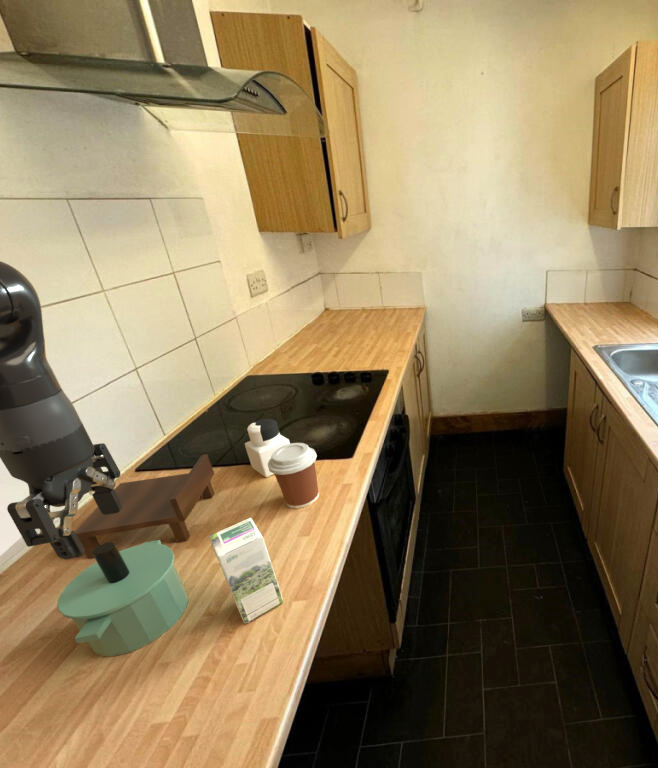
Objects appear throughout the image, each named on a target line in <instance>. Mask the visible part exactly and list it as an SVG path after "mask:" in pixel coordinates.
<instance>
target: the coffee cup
mask: <svg viewBox="0 0 658 768" xmlns="http://www.w3.org/2000/svg"><path fill="white" fill-rule="evenodd" d="M317 457H318V455H317V452H316V450H315V449H314V448H312V447H309V445H308V444H307V443H304V442H293V443H292V442H290V444H288V445H284V446H282V447H280V448H278V449H277V450H276V451H274V452H273V454H272V456H271V459H270V460H269V462H268V464H267V465H268V468H269V471H270V472H272V473H274V474H273V475H274V476H275V479H276V481H277V483H278V486H279V488H280V491H281V494H282V496H283V498H284V500H285V503H286V506H287V507H288V508H290V509H302V508H305V507H308V506H310V505H311V504H313V503H315V502H316V501H317V500H318V499H319V497H320V492H319V485H318V479H317V471H316V464H315V462H316V460H317Z"/></svg>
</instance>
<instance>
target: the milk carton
mask: <svg viewBox="0 0 658 768" xmlns="http://www.w3.org/2000/svg"><path fill="white" fill-rule="evenodd" d="M208 537H209V541H210V544H211V546H212V548H213V550H214V553H215V556H216V558H217V561H218V563H219V566H220V567H221V568H220V569H221V571H222V573H223V576H224V579H225V581H226V584H227V586H228V588H229V591H230V593H231V596H232V598H233V601H234V604H235V605H236V608H237V609H238V613H239V615H240V617H241V619H242V621H243V624H244V625H248V624H249V623H251V622H253V621H254V620H257V619H258V618H260V617H261V616H263V615H265V614H266V613H268V612H270V611H271V610H273V609H276V608H277V607H278V606H280V605H282V604H283V603H284V597H283V595H282V591H281V589H280V585H279V582H278V580H277V577H276V574H275V573H276V572H275V571H274V567H273V564H272V561H271V557H270V554H269V551H268V548H267V546H266V542H265V539H264V536H263V535H262V533H261V532H260V530H259V528H258V527H257V525H256V524H255V522H254V520H253V518H252V517H248V518H246V519H244V520H241V521H240V522H237V523H235V524H233V525H231V526H228V527H226V528H224V529H221V530H219V531H217V532H215V533H212V534H211V535H208Z"/></svg>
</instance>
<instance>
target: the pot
mask: <svg viewBox="0 0 658 768" xmlns="http://www.w3.org/2000/svg"><path fill="white" fill-rule="evenodd" d="M152 543H155V544H163V543H162V541H161V539H156V540H149V541H145V542H142V543H141V545H143V544H152ZM188 603H189V595H188V592H187V589H186V587H185V584H184V583H183V581H182V579H181V576H180V574H179V572H178V570H177V568H176V566H175V563H174V564H173V566H172V568H171V570H170V572H169V573H168V575H167V576H166V577H165V578H164V579H163V580H162V581H161V582H160V583H159V584H158V585H157V586H156V587H155V588H154V589H152V590H151V591H150V592H148V593H147V594H146V595H144V596H143V597H141V598H140V599H138V600H136V601H135V602H133V603H131V604H129V605H127V606H125V607H123V608H121V609H119V610H116V611H114V612H111V613H109V614H106V615H103V616H99V617H95V618H90V619H81V620H77V619H71V620H72V621H73V623H74V624H75V626H76V628H77V629H78V633H77V634H76V636H75V637H74V640H75V642H76V643H77V644H82V643H87V644H88V646H89V647H90V648H91V649H92V651H93V652H94V653H95V654H96V655H98V656H102V657H117V656H122V655H126V654H129V653H131V652H135V651H137V650H139V649H141V648H144V647H145V646H147V645H149V644H151V643H152V642H154V641H156V640H157V639H159V638H160V637H161V636H163V635H164V634H166V633H167V632H168V631H169V630H170V629H171V628H172V627H173V626H174V625H175V624H176V623H177V622H178V621H179V619H181V617H182V615H183V614H184V612H185V611H186V610H187V609H186V608H187V606H188Z"/></svg>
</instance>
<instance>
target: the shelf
mask: <svg viewBox="0 0 658 768" xmlns="http://www.w3.org/2000/svg"><path fill="white" fill-rule="evenodd" d="M214 476H215V471H214V468H213V466H212V463H211V460H210V457H209V455H208V453H205V454H202V455H201V456H200V457H199V458H198V460H197V461H196V463H195V464H194V465H193V467H192V468H191V470H190V471H189V472H188V473H181V474H180V473H179V474H174V475H168V476H160V477H154V478H146V479H140V480H134V481H126V482H120V483H119V484H118V485H117V486H115V488H114V490H115V492H116V494H117V496H118V498H119V500H120V504H121V506H122V509H121V510H120V511H119V512H118V513H113V514H107V515H104V514H102V513H101V511H100V509H99V507H98V506H97V507H96V508H95V509H94V510H93V512H91V513H90V514H89V516H88V517H86V518H85V520H84V521H83V522H82V523H81V524H80V525H79V526H78V527H77V528H76V529H75V530H74V531H75V533H76V535H77V537H78V538H79V540H80V542H81V544H82V545H83V547H84V549H85V552H84V553H85V556H86V558H87V559H88V560H89V559H90V560H91V559H95V558H94V556H93V555H92V551H93V550H94V549H95V548H96V547H98V546H99V545H101V543H100V542H99V540H98V538H97V537H99V536H104V535H110V534H115V533H121V532H128V531H133V530H139V529H140V530H141V529H146V528H151V527H157V526H163V525H168V526H169V528H170V530H171V532H172V535H173V537H174V539H175V541H176V543H177V544H178V543H183V542H187V541H188V540H189V538H190V537H191V534H190V531H189V529H188V526H187V525H186V520H187V519H188V517H189V516H190V514H191V512H192V511H193V509H194V508H195V506H196V505H197V503H198V501H199V499H200V498H201V497H202V498H203V500H206V499H212V498H213V497H214V495H215V490H214V487H213V485H212V483H211V481H212V479H213V477H214Z"/></svg>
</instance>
